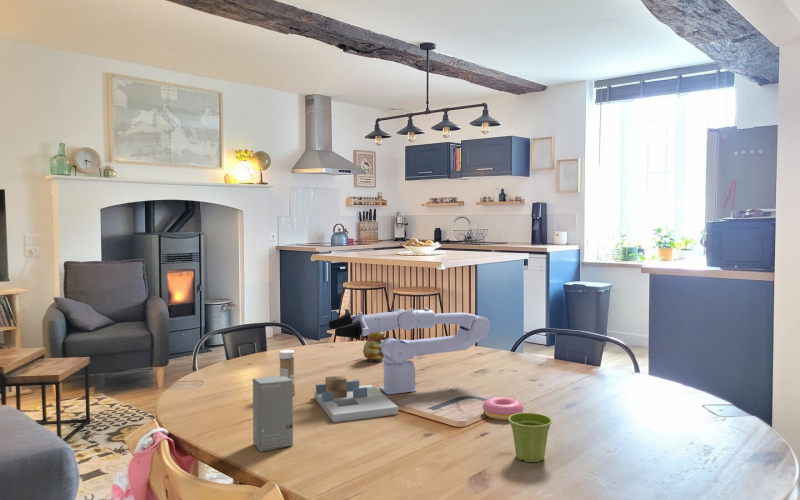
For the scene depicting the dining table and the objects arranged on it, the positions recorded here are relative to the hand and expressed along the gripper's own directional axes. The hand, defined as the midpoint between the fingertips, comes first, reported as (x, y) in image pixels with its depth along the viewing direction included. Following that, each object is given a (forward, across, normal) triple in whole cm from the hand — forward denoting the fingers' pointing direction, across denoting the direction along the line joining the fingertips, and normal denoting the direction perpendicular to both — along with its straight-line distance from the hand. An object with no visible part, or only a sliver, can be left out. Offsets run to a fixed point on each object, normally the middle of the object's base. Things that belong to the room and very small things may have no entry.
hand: (332, 328), depth 180 cm
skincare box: (+24, +34, +15) cm, 44 cm away
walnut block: (+1, +7, +18) cm, 19 cm away
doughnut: (-37, +36, +19) cm, 55 cm away
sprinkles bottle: (+13, -6, +21) cm, 26 cm away
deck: (-2, +13, +19) cm, 23 cm away
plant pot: (-28, +64, +14) cm, 71 cm away
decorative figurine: (-25, -38, +28) cm, 53 cm away
